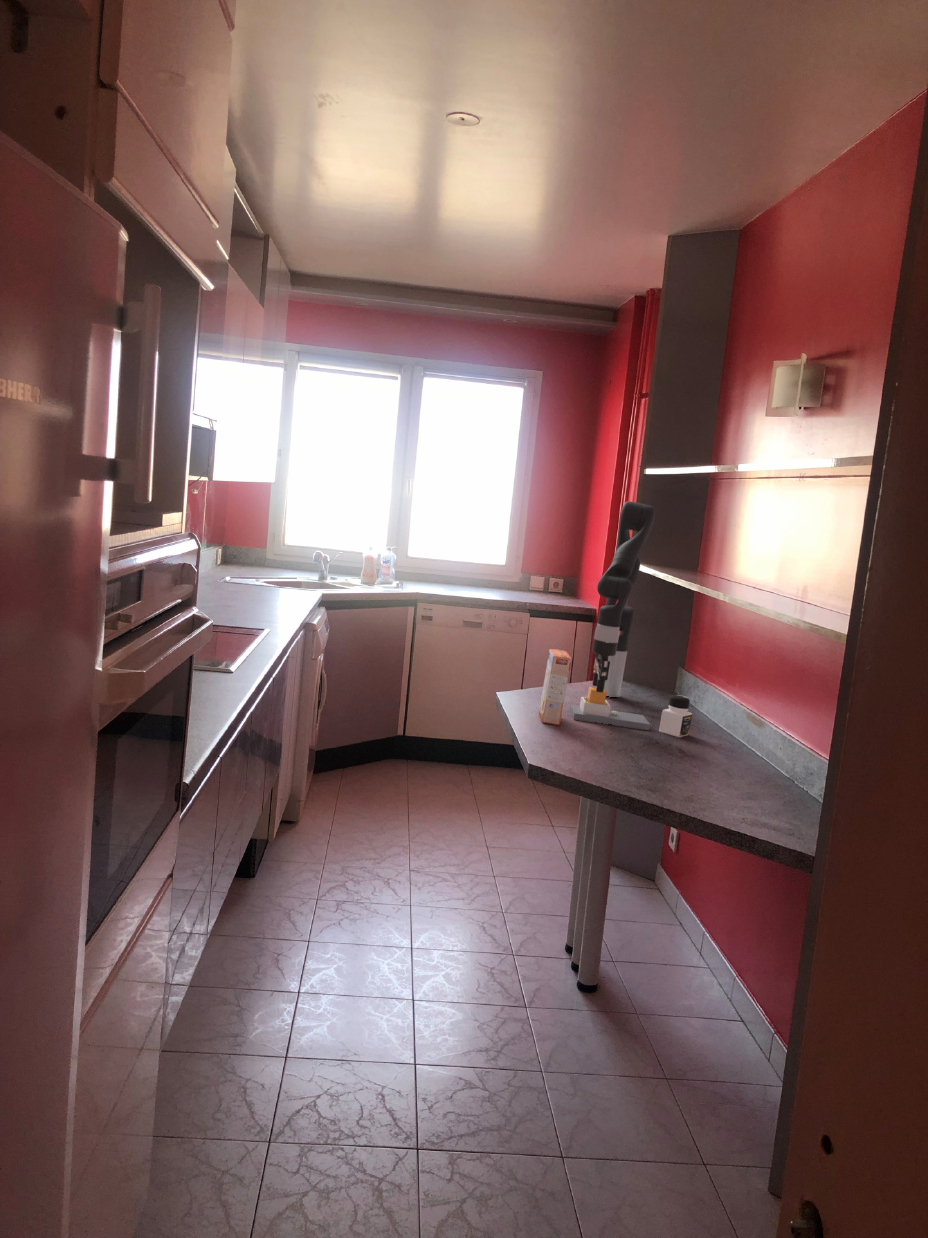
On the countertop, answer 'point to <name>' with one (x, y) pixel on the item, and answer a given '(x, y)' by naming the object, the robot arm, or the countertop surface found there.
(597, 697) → the orange cube
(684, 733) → the medicine bottle
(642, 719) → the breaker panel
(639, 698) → the countertop surface
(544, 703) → the cracker box
